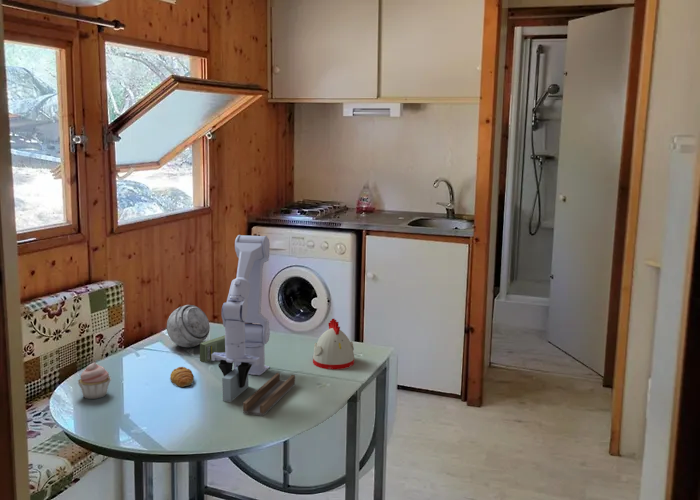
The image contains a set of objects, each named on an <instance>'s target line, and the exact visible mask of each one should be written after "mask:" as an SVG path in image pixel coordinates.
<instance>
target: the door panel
mask: <svg viewBox="0 0 700 500" xmlns="http://www.w3.org/2000/svg"><path fill="white" fill-rule="evenodd" d="M240 365H241V364H240ZM221 386H222V401H223V402H229V403H231V402H233V401H234V400H235V399H236V398H237V397H238V396H240V395H241V394H242V393H243V392H244V391H245V390H246V389H248V388H249V374H248V375H247V378H246V382H245V386H244V387H243V388H240V385H239V371H238V367H236V368H235V369H234V368H233V369H232V371H231V372H230V373H228V374H227V375H226V376H224V375H223V377H222V384H221Z"/></svg>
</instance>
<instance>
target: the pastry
mask: <svg viewBox="0 0 700 500" xmlns="http://www.w3.org/2000/svg"><path fill="white" fill-rule="evenodd" d="M194 378H195V376H194V374H193V371H192V370H191V369H190V368H187V367H185V366H179V367H177V368H174V369H173V370H172V371H171V373H170V377H169V379H170V381H171V383H173V384H174V385H176V387H180V388H184V387H187V386H192V384H193V382H194Z"/></svg>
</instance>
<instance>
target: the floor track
mask: <svg viewBox="0 0 700 500" xmlns="http://www.w3.org/2000/svg"><path fill="white" fill-rule="evenodd" d="M294 386H296V375H294V374H291V375H290V376H288V378H287V379H286V380H283V379H282V380H281V375H280V373H279V372H276V373H275V374H274V375H272V376H271V378H270V379H268V380H267V381H266V382H265V383H264V384H263V385H261V387H259V388H258V389H257V390H256V391H255V392H254V393H252V395H250V396H249V397H248V398H247V399H245V401H243V402H242V411H243V412H242V413H243V414H245V415H246V414H248V415H253V416H254V415H255V416H260V417H264V416H265V415H266V414H267V413H268V412H269V411H270V410H271V409H272V408H273V407H274V406H275V405H276V404H277V403H278V402H279V401H280V400H281V399H283V397H284V396H285V395H286V394H287V393H288V392H289V391H291V389H292V388H293V387H294Z"/></svg>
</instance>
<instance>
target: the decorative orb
mask: <svg viewBox="0 0 700 500" xmlns="http://www.w3.org/2000/svg"><path fill="white" fill-rule="evenodd" d="M210 325H211V324H210V322H209V319H208V316H207V315H206V313H205V312H204V311H203V310H202V309H201V308H200V307H198V306H196V305H193V304H185V305H182V306H179V307H178V308H176V309H174V310H173V311H172V312H171V314H170V315H169V316H168V319H167V322H166V331H167V335H168V337H169V339H170V340H171V341H172V342H173V344H175V345H177V346H179V347H182V348H193V347H197V346H200V343H202V342H205V340H206V339H207V338H208V336H209V335H210V331H211V326H210Z"/></svg>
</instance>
